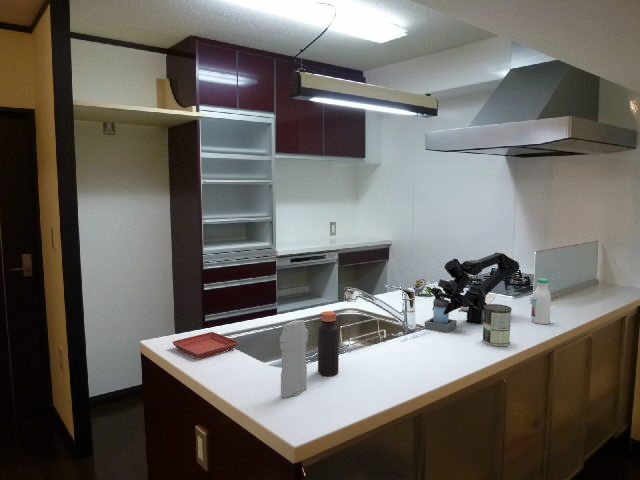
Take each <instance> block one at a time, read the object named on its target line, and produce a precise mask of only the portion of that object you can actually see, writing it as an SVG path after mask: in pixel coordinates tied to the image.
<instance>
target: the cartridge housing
mask: <svg viewBox="0 0 640 480" xmlns="http://www.w3.org/2000/svg"><path fill="white" fill-rule="evenodd" d="M457 323H458V320H455V319H450V318H449V319H448V324H447V325H444V324H439V323H433V316H432V317H431V318H428V319H427V320H425V321H424V327H423V328H424V329H425V330H431V331H437V332H440V333H441V332H442V333H450V332H451V331H453V330H454V329H456V328H457V325H458V324H457Z"/></svg>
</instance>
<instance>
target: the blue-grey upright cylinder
mask: <svg viewBox="0 0 640 480" xmlns="http://www.w3.org/2000/svg"><path fill="white" fill-rule="evenodd" d="M449 303H450V299H447V298H444V299H435V298H434V299H433V302H432V305H433V306H434V311H433V316H432V317H433V323H439V324H444V325H447V324H448V319H450V317H449V315H450V313H448V314H446V315H445V314H444V311H445V309H446V308H447V306H448V305H449Z"/></svg>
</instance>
